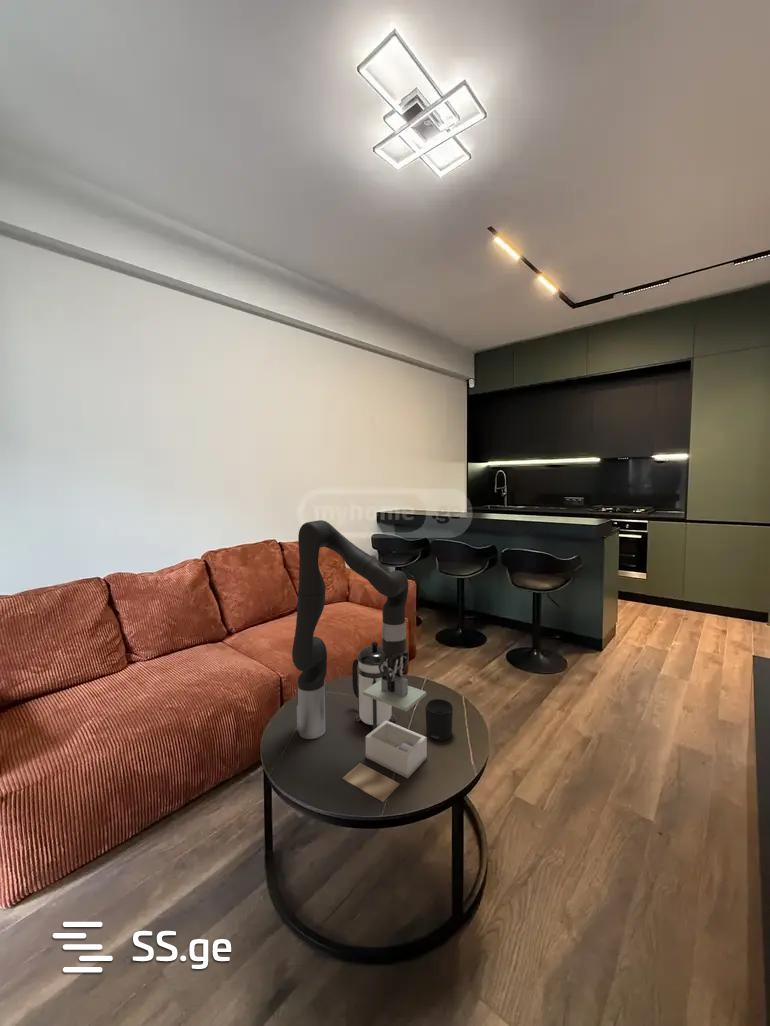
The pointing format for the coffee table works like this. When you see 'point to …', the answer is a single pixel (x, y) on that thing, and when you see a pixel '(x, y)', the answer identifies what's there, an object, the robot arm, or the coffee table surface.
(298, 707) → the robot arm
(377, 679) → the coffee press
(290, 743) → the coffee table surface
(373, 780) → the cork pad
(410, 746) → the storage box
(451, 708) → the pen holder
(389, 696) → the lid
